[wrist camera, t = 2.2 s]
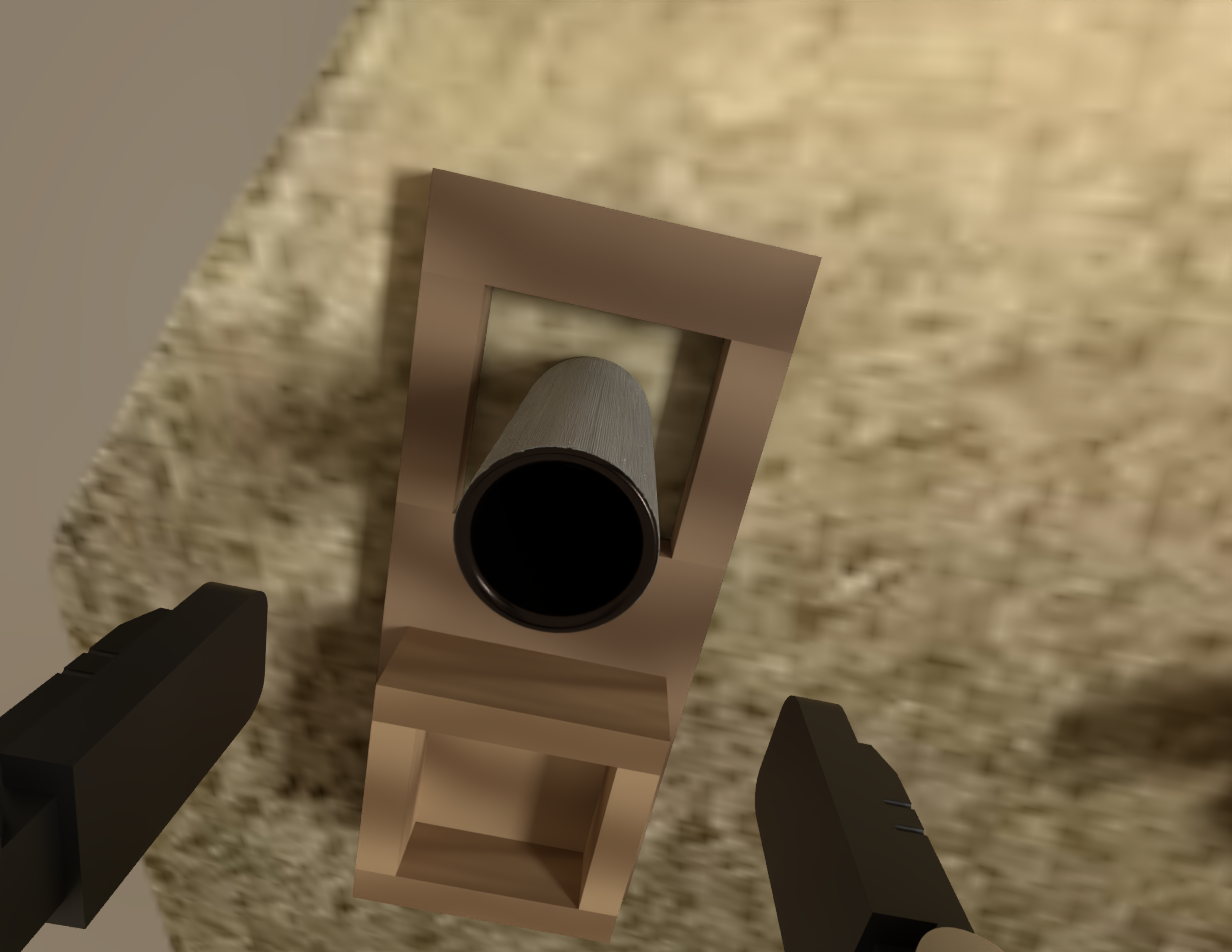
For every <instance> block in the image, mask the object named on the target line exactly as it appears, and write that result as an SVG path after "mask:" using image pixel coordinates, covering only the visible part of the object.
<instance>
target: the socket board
mask: <svg viewBox="0 0 1232 952" xmlns="http://www.w3.org/2000/svg"><path fill="white" fill-rule="evenodd" d="M821 258H822V257H818V256H813V255H809V254H805V253H800V252H796V251H792V250H787V249H783V248H779V247H774V246H770V245H766V244H761V243H757V242H753V241H748V240H744V239H740V238H735V237H731V236H726V235H722V234H718V233H713V232H709V231H705V230H700V229H696V228H692V227H687V226H683V225H679V224H674V223H670V222H666V221H661V220H657V219H653V218H648V217H644V216H640V215H635V214H631V213H627V212H622V211H618V210H614V209H609V208H605V207H601V206H596V205H592V204H588V203H583V202H579V201H575V200H570V199H566V198H562V197H557V196H553V195H549V194H544V193H540V192H536V191H531V190H527V189H523V188H518V187H514V186H510V185H505V184H501V183H497V182H492V181H488V180H484V179H479V178H475V177H471V176H466V175H462V174H458V173H453V172H449V171H445V170H440V169H436V168H433V171H432V180H431V189H430V198H429V207H428V216H427V225H426V234H425V243H424V253H423V262H422V271H421V280H420V289H419V298H418V307H417V316H416V325H415V334H414V343H413V352H412V361H411V370H410V379H409V388H408V397H407V406H406V415H405V425H404V434H403V443H402V452H401V461H400V470H399V479H398V488H397V497H396V506H395V515H394V524H393V533H392V542H391V551H390V560H389V569H388V578H387V587H386V597H385V606H384V615H383V624H382V633H381V642H380V651H379V660H378V669H377V678H376V687H375V696H374V705H373V714H372V723H371V732H370V741H369V750H368V759H367V769H366V778H365V787H364V796H363V805H362V814H361V823H360V832H359V841H358V850H357V860H356V869H355V878H354V888H353V897H355V898H360V899H366V900H371V901H377V902H382V903H388V904H394V905H399V906H405V907H410V908H416V909H421V910H427V911H432V912H438V913H444V914H449V915H455V916H460V917H466V918H471V919H477V920H483V921H488V922H494V923H499V924H505V925H510V926H516V927H521V928H527V929H533V930H538V931H544V932H549V933H555V934H560V935H566V936H571V937H577V938H583V939H588V940H594V941H599V942H605V943H609V942H610V939H611V935H612V932H613V929H614V925H615V922H616V919H617V916H618V912H619V909H620V906H621V902H622V900H625V898H626V895H627V891H628V888H629V885H630V881H631V878H632V875H633V872H634V868H635V865H636V862H637V859H638V855H639V852H640V849H641V846H642V842H643V839H644V836H645V832H646V829H647V826H648V823H649V819H650V816H651V813H652V810H653V806H654V803H655V800H656V797H657V793H658V790H659V787H660V784H661V780H662V777H663V774H664V770H665V767H666V764H667V761H668V757H669V754H670V751H671V748H672V744H673V741H674V738H675V735H676V731H677V728H678V725H679V722H680V718H681V715H682V712H683V708H684V705H685V702H686V699H687V695H688V692H689V689H690V686H691V682H692V679H693V676H694V673H695V669H696V666H697V663H698V660H699V656H700V653H701V650H702V646H703V643H704V640H705V637H706V633H707V630H708V627H709V624H710V620H711V617H712V614H713V611H714V607H715V604H716V601H717V598H718V594H719V591H720V588H721V584H722V581H723V578H724V575H725V571H726V568H727V565H728V562H729V558H730V555H731V552H732V549H733V545H734V542H735V539H736V535H737V532H738V529H739V526H740V522H741V519H742V516H743V513H744V509H745V506H746V503H747V500H748V496H749V493H750V490H751V487H752V483H753V480H754V477H755V473H756V470H757V467H758V464H759V460H760V457H761V454H762V451H763V447H764V444H765V441H766V438H767V434H768V431H769V428H770V425H771V421H772V418H773V415H774V411H775V408H776V405H777V402H778V398H779V395H780V392H781V389H782V385H783V382H784V379H785V376H786V372H787V369H788V366H789V363H790V359H791V356H792V353H793V349H794V346H795V343H796V340H797V336H798V333H799V330H800V327H801V323H802V320H803V317H804V314H805V310H806V307H807V304H808V301H809V297H810V294H811V291H812V287H813V284H814V281H815V278H816V274H817V271H818V268H819V265H820V261H821ZM493 287H497V288H502V289H506V290H511V291H515V292H520V293H524V294H529V295H533V296H538V297H542V298H547V299H551V300H556V301H560V302H565V303H569V304H573V305H578V306H582V307H587V308H591V309H596V310H600V311H605V312H609V313H614V314H618V315H623V316H627V317H632V318H636V319H641V320H645V321H650V322H654V323H659V324H663V325H667V326H672V327H676V328H681V329H685V330H690V331H694V332H699V333H703V334H708V335H712V336H717V337H721V338H725V339H724V342H723V346H722V350H721V354H720V357H719V361H718V365H717V368H716V372H715V376H714V380H713V383H712V387H711V391H710V394H709V398H708V402H707V406H706V409H705V413H704V417H703V420H702V424H701V428H700V432H699V435H698V439H697V443H696V446H695V450H694V454H693V458H692V461H691V465H690V469H689V472H688V476H687V480H686V483H685V487H684V491H683V495H682V498H681V502H680V506H679V509H678V513H677V517H676V521H675V524H674V528H673V532H672V535H671V539H670V540H665V539H660V550H659V558H658V563H657V567H656V570H655V573H654V575H653V577H652V580H651V582H650V584H649V585H648V587H647V589H646V590H645V592H644V593H643V594H642V596H641V597H640V598H639V599H638V600H637V602H636V603H635V604H634V605H633V606H632V607H630V608H629V609H628V610H627V611H626V612H624V613H623V614H622V615H620V616H619V617H617V618H616V619H614V620H612V621H610V622H608V623H606V624H604V625H601V626H599V627H596V628H593V629H589V630H585V631H580V632H574V633H548V632H541V631H536V630H532V629H528V628H525V627H522V626H519V625H517V624H515V623H512V622H510V621H508V620H506V619H505V618H503V617H501V616H499V615H498V614H497V613H495V612H494V611H492V610H491V609H490V608H489V607H487V606H486V605H485V604H484V603H483V602H482V601H481V600H480V599H479V598H478V597H477V596H476V595H475V593H474V592H473V591H472V590H471V588H470V587H469V585H468V584H467V582H466V580H465V579H464V577H463V575H462V573H461V571H460V568H459V566H458V563H457V559H456V556H455V551H454V545H453V525H454V518H455V514H456V511H457V508H458V505H459V502H460V500H461V498H462V495H463V488H464V482H465V475H466V468H467V461H468V454H469V448H470V441H471V434H472V427H473V420H474V414H475V407H476V400H477V393H478V386H479V380H480V373H481V366H482V359H483V352H484V346H485V339H486V332H487V325H488V318H489V312H490V305H491V298H492V291H493Z"/></svg>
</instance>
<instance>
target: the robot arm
mask: <svg viewBox="0 0 1232 952" xmlns="http://www.w3.org/2000/svg"><path fill="white" fill-rule="evenodd" d="M267 609H268V603H267V598H266V595H265V593H264V592H262V591H257V590H252V589H247V588H242V587H237V586H231V585H226V584H221V583H216V582H208V583H205V584H204V585H202V586H201V587H200V588H198V589H197V590H196V591H195V592H194V593H192V594H191V595H190V596H189V597H188V598H186V599H185V600H184V601H183V602H182V603H180V604H179V605H178V606H177V607H175V608H174V609H173V610H169V609H164V608H159V609H156V610H154V611H151V612H149V613H147V614H144V615H142V616H140V617H137V618H135V619H132V620H130V621H128V622H125V623H123V624H120V625H119V626H118V627H116V628H115V629H114V630H112V631H111V632H110V633H109V634H107V635H106V636H105V637H103V638H102V639H101V640H100V641H98V642H97V643H96V644H94V645H93V646H92V647H90V650H89V652H88V653H83V654H81V655H80V656H79V657H77V658H76V659H75V660H74V661H72V662H71V663H70V664H68V665H67V666H66V667H65V668H64V671H63V672H62V674H60V673H57V674H55V675H54V676H53V677H51V678H50V679H49V680H48V681H46V682H45V683H44V684H42V685H41V686H40V687H39V688H37V689H36V690H35V691H33V692H32V693H31V694H29V695H28V696H27V697H26V698H24V699H23V700H22V701H20V702H19V703H18V704H17V705H15V706H14V707H13V708H11V709H10V710H9V711H7V712H6V713H5V714H3V715H2V716H1V717H0V952H21V951H22V950H23V948H24V947H25V946H26V945H27V944H28V943H29V941H30V940H31V939H32V938H33V937H34V935H35V934H36V933H37V932H38V931H39V930H40V928H41V927H42V926H43V925H44V924H45V922H46V923H52V924H57V925H64V926H69V927H76V928H82V929H86V927H87V926H88V925H89V923H90V922H91V921H92V920H93V918H94V917H95V916H96V914H97V913H98V912H99V911H100V909H101V908H102V907H103V906H104V904H105V903H106V902H107V900H108V899H109V898H110V897H111V895H112V894H113V893H114V891H115V890H116V889H117V888H118V886H119V885H120V884H121V883H122V881H123V880H124V879H125V877H126V876H127V875H128V874H129V872H130V871H131V870H132V869H133V867H134V866H135V865H136V863H137V862H138V861H139V860H140V858H141V857H142V856H143V855H144V853H145V852H146V851H147V849H148V848H149V847H150V846H151V844H152V843H153V842H154V840H155V839H156V838H157V837H158V835H159V834H160V833H161V831H162V830H163V829H164V828H165V826H166V825H167V824H168V823H169V821H170V820H171V819H172V817H173V816H174V815H175V814H176V812H177V811H178V810H179V808H180V807H181V806H182V805H183V803H184V802H185V801H186V800H187V798H188V797H189V796H190V794H191V793H192V792H193V791H194V789H195V788H196V787H197V785H198V784H199V783H200V782H201V780H202V779H203V778H204V777H205V775H206V774H207V773H208V771H209V770H210V769H211V768H212V766H213V765H214V764H215V762H216V761H217V760H218V759H219V757H220V756H221V755H222V754H223V752H224V751H225V750H226V748H227V747H228V746H229V745H230V743H231V742H232V741H233V739H234V738H235V737H236V736H237V734H238V733H239V732H240V731H241V729H242V728H243V727H244V725H245V724H246V723H247V721H248V720H249V719H250V717H251V715H252V714H253V712H254V710H255V708H256V706H257V703H258V701H259V698H260V695H261V692H262V688H263V684H264V676H265V655H266V632H267ZM755 810H756V818H757V823H758V827H759V832H760V837H761V841H762V846H763V851H764V856H765V860H766V865H767V870H768V874H769V879H770V884H771V889H772V893H773V898H774V903H775V907H776V912H777V917H778V922H779V926H780V931H781V936H782V940H783V945H784V950H785V952H1004V951H1002V950H1001V949H1000V948H998V947H997V946H996V945H994V944H992V943H991V942H989V941H988V940H986V939H984V938H982V937H980V936H978V935H976V934H975V933H974V931H973V929H972V927H971V925H970V923H969V921H968V919H967V917H966V914H965V912H964V910H963V908H962V906H961V904H960V902H959V900H958V898H957V896H956V894H955V892H954V890H953V888H952V886H951V884H950V882H949V880H948V878H947V876H946V873H945V871H944V869H943V867H942V865H941V863H940V861H939V859H938V857H937V855H936V853H935V851H934V849H933V847H932V845H931V843H930V841H929V839H928V837H927V836H925V835H924V834H923V830H924V828H923V826H922V824H921V822H920V820H919V818H918V816H917V814H916V812H915V810H913V809H911V802H910V800H909V798H908V796H907V793H906V791H905V789H904V787H903V785H902V783H901V781H900V779H899V777H898V775H897V773H896V772H895V771H894V770H893V769H892V768H891V767H890V765H889V764H888V763H887V762H886V761H885V760H884V759H883V758H882V757H881V756H880V754H879V753H878V752H877V751H876V750H875V749H874V748H873V747H872V746H871V745H868V744H863V743H858V741H857V739H856V737H855V734H854V732H853V730H852V728H851V725H850V723H849V721H848V719H847V716H846V714H845V712H844V710H843V708H842V707H841V706H840V705H838V704H834V703H829V702H824V701H818V700H813V699H808V698H803V697H798V696H792V695H791V696H789V697H788V698H787V699H786V700H785V702H784V704H783V706H782V709H781V712H780V715H779V717H778V720H777V723H776V726H775V728H774V731H773V734H772V737H771V740H770V742H769V745H768V748H767V751H766V754H765V756H764V759H763V762H762V765H761V768H760V771H759V774H758V778H757V783H756V792H755Z"/></svg>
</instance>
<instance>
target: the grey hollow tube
mask: <svg viewBox="0 0 1232 952" xmlns="http://www.w3.org/2000/svg"><path fill="white" fill-rule="evenodd" d="M453 545H454V551H455V556H456V559H457V563H458V566H459V568H460V571H461V573H462V575H463V577H464V579H465V580H466V582H467V584H468V585H469V587H470V588H471V590H472V591H473V592H474V593H475V595H476V596H477V597H478V598H479V599H480V600H481V601H482V602H483V603H484V604H485V605H486V606H487V607H489V608H490V609H491V610H492V611H494V612H495V613H497V614H498V615H499V616H501V617H503V618H505V619H506V620H508V621H510V622H512V623H515V624H517V625H519V626H522V627H525V628H528V629H532V630H536V631H541V632H548V633H574V632H580V631H585V630H589V629H593V628H596V627H599V626H601V625H604V624H606V623H608V622H610V621H612V620H614V619H616V618H617V617H619V616H620V615H622V614H623V613H624V612H626V611H627V610H628V609H629V608H630V607H632V606H633V605H634V604H635V603H636V602H637V600H638V599H639V598H640V597H641V596H642V594H643V593H644V592H645V590H646V589H647V587H648V585H649V584H650V582H651V580H652V577H653V575H654V573H655V570H656V567H657V563H658V558H659V550H660V531H659V517H658V503H657V489H656V475H655V461H654V448H653V434H652V420H651V412H650V408H649V404H648V401H647V398H646V396H645V393H644V391H643V390H642V388H641V386H640V385H639V383H638V382H637V381H636V380H635V378H634V377H633V376H632V375H631V374H630V373H628V372H627V371H626V370H625V369H623V368H622V367H620V366H618V365H617V364H614V363H612V362H610V361H607V360H604V359H600V358H594V357H579V358H572V359H569V360H565V361H563V362H560V363H558V364H556V365H554V366H553V367H551V368H550V369H548V370H547V371H546V372H545V373H544V374H543V375H542V376H541V377H540V378H539V379H538V380H537V381H536V382H535V383H534V384H533V386H532V387H531V389H530V390H529V392H528V394H527V395H526V397H525V398H524V400H523V401H522V403H521V404H520V406H519V408H518V409H517V411H516V412H515V414H514V415H513V417H512V418H511V420H510V421H509V423H508V425H507V426H506V428H505V429H504V431H503V432H502V434H501V435H500V437H499V439H498V440H497V442H496V443H495V445H494V446H493V448H492V449H491V451H490V453H489V454H488V456H487V457H486V459H485V460H484V462H483V463H482V465H481V467H480V468H479V470H478V471H477V473H476V474H475V476H474V477H473V479H472V481H471V482H470V484H469V485H468V487H467V489H466V490H465V492H464V494H463V496H462V498H461V500H460V502H459V505H458V508H457V511H456V514H455V518H454V525H453Z"/></svg>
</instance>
